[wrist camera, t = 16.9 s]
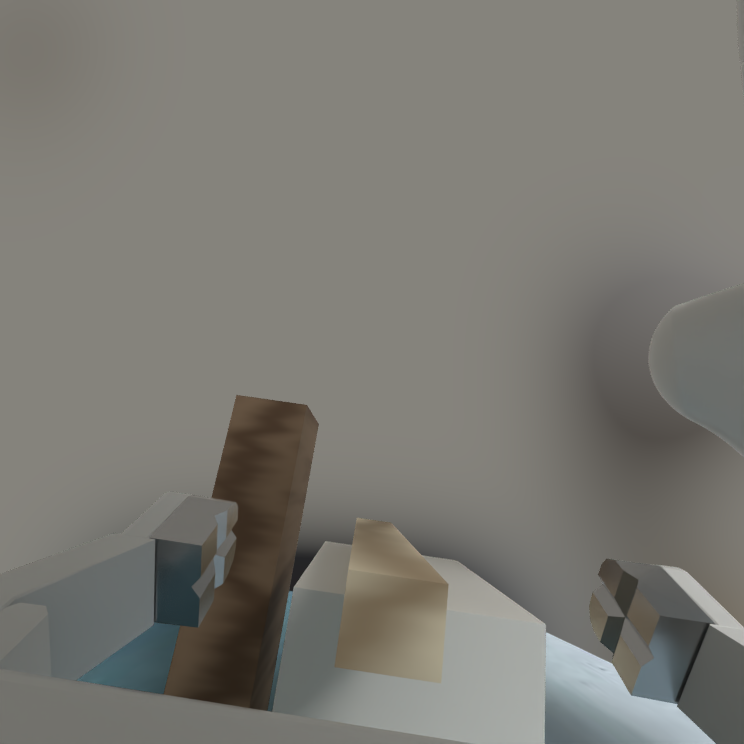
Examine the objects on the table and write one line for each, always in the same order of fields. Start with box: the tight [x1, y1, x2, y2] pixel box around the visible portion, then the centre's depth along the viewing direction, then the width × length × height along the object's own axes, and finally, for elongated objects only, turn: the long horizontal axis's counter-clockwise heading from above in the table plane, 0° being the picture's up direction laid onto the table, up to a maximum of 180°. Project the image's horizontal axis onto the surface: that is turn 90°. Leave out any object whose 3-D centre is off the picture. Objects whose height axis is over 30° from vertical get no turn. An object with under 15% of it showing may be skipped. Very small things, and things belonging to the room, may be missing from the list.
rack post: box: [164, 395, 319, 711], centre depth 35 cm, size 6×10×26 cm, turn 2°
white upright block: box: [272, 541, 546, 744], centre depth 25 cm, size 12×18×15 cm, turn 2°
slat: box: [334, 518, 449, 683], centre depth 23 cm, size 3×24×2 cm, turn 1°
